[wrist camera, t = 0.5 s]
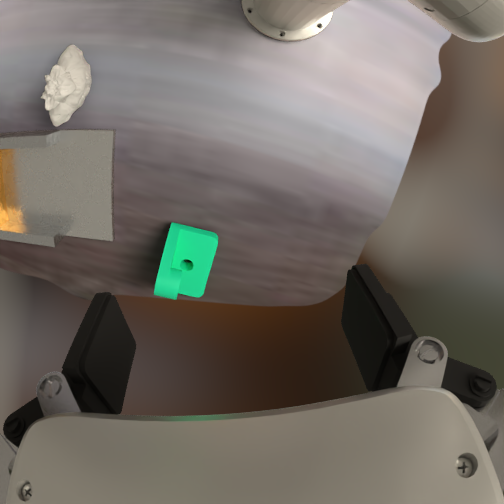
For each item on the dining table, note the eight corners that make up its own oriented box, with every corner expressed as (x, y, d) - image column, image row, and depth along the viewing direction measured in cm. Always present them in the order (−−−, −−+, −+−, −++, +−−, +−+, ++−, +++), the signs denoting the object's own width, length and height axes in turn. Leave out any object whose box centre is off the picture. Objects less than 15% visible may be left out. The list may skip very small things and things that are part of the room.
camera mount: (202, 289, 53) (199, 330, 44) (161, 279, 52) (150, 319, 43) (219, 230, 48) (218, 266, 39) (173, 219, 46) (160, 253, 37)
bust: (78, 120, 38) (93, 135, 32) (34, 122, 33) (37, 137, 26) (94, 48, 32) (113, 43, 26) (48, 46, 27) (54, 39, 21)
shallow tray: (-1, 133, 34) (-18, 139, 30) (115, 129, 38) (103, 135, 33) (8, 225, 43) (-5, 238, 38) (114, 238, 46) (104, 253, 42)
